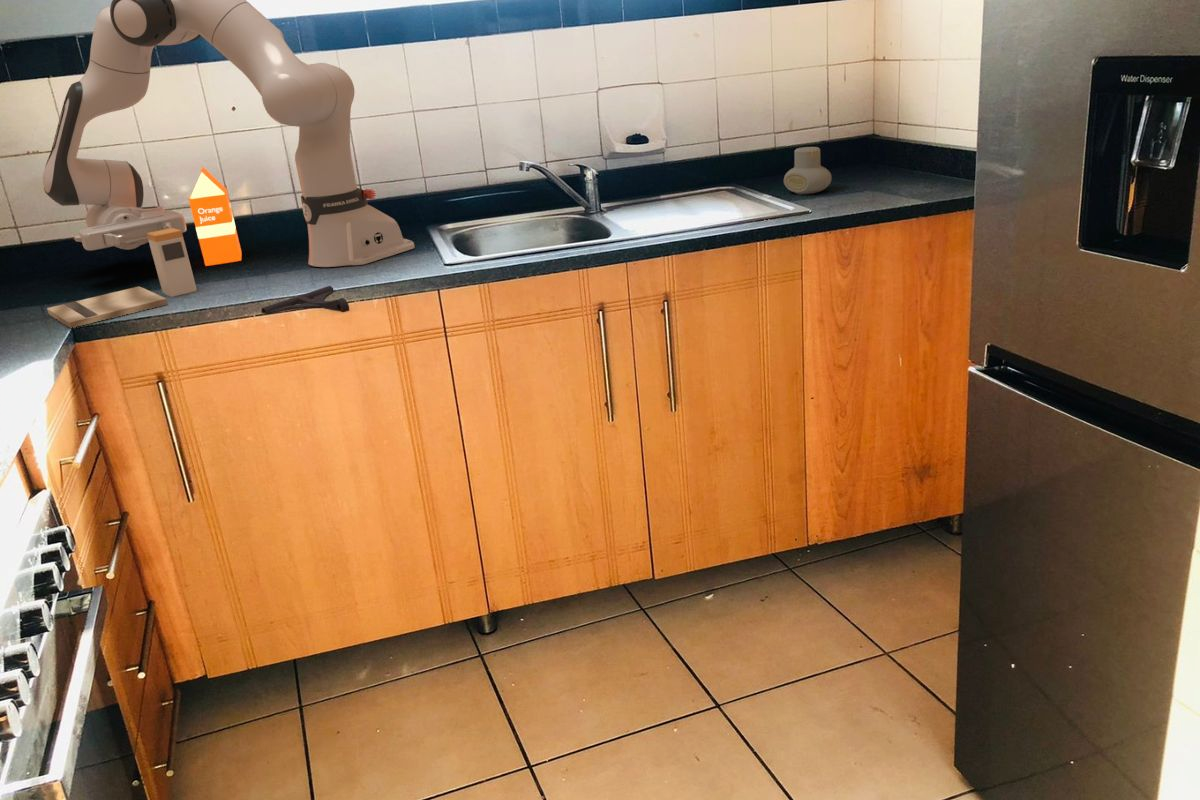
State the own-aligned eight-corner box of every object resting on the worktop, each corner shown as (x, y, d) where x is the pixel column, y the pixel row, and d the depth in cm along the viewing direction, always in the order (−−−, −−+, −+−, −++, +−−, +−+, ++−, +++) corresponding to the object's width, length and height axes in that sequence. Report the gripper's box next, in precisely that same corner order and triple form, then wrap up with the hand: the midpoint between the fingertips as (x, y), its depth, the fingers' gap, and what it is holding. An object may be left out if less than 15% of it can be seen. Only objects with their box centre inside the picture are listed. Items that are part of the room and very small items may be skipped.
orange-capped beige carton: (188, 287, 190) (172, 227, 185) (197, 290, 186) (181, 230, 182) (162, 293, 187) (146, 233, 183) (171, 297, 183) (155, 236, 179)
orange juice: (204, 266, 207) (181, 173, 199) (206, 258, 215) (184, 168, 207) (242, 260, 209) (220, 168, 201) (242, 252, 217) (221, 163, 209)
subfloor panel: (141, 292, 190) (139, 285, 189) (167, 304, 178) (165, 298, 178) (48, 314, 180) (46, 307, 179) (70, 329, 168) (68, 322, 168)
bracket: (312, 327, 158) (309, 311, 157) (262, 316, 167) (258, 300, 166) (380, 303, 168) (377, 288, 167) (329, 294, 177) (326, 280, 176)
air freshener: (837, 190, 221) (837, 147, 217) (815, 197, 216) (815, 152, 213) (800, 187, 229) (800, 144, 225) (778, 193, 224) (777, 150, 221)
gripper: (67, 222, 194) (85, 230, 184) (168, 204, 206) (191, 210, 196) (76, 252, 197) (94, 261, 187) (175, 233, 209) (198, 240, 199)
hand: (145, 235), depth 192 cm, fingers open, 8 cm apart
